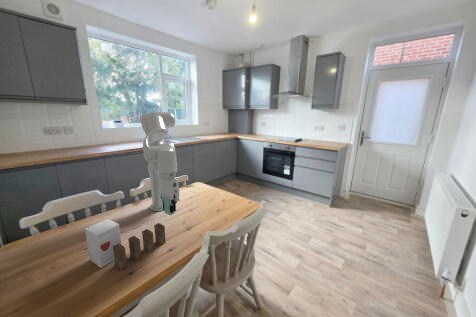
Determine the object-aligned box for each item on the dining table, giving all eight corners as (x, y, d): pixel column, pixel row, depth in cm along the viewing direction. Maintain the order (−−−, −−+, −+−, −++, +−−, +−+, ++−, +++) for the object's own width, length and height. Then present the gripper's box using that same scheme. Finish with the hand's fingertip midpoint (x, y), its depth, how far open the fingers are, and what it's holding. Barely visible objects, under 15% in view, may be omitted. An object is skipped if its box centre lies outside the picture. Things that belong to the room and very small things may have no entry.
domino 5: (168, 210, 95) (167, 194, 93) (174, 213, 93) (173, 196, 91) (164, 212, 93) (163, 195, 91) (170, 215, 91) (169, 198, 89)
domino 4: (159, 239, 93) (158, 222, 91) (165, 242, 91) (164, 225, 89) (155, 241, 91) (154, 225, 89) (161, 245, 89) (160, 228, 87)
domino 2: (135, 253, 84) (133, 235, 82) (141, 257, 81) (139, 239, 79) (130, 256, 82) (128, 238, 80) (136, 261, 79) (134, 242, 77)
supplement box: (100, 269, 75) (95, 235, 72) (89, 260, 79) (83, 228, 76) (123, 254, 83) (119, 223, 79) (112, 247, 87) (107, 217, 84)
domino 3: (148, 246, 89) (147, 228, 86) (154, 249, 86) (152, 232, 84) (143, 248, 87) (142, 231, 85) (149, 252, 84) (147, 234, 82)
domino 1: (121, 262, 79) (119, 243, 77) (127, 266, 76) (124, 247, 74) (115, 265, 77) (112, 246, 75) (121, 270, 74) (118, 250, 72)
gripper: (186, 176, 88) (187, 212, 92) (162, 169, 96) (165, 203, 100) (172, 180, 81) (174, 219, 85) (149, 173, 90) (152, 208, 94)
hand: (169, 210), depth 93 cm, fingers closed on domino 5, 4 cm apart
